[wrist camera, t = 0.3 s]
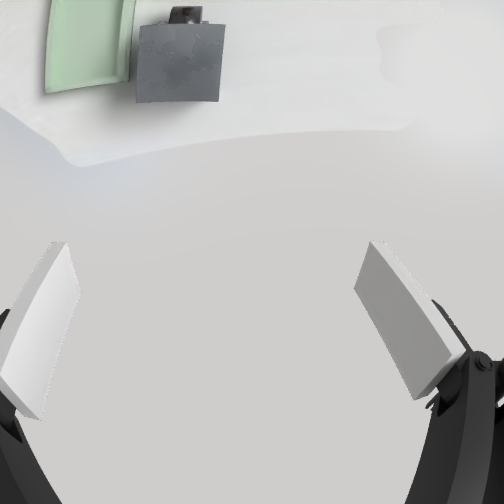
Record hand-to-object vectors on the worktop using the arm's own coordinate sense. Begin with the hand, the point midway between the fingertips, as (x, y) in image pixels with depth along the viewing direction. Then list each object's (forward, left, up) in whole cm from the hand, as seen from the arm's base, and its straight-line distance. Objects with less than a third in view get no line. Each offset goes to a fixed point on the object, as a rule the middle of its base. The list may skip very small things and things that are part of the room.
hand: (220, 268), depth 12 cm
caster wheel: (-10, -4, -27) cm, 29 cm away
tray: (-15, -16, -27) cm, 35 cm away
